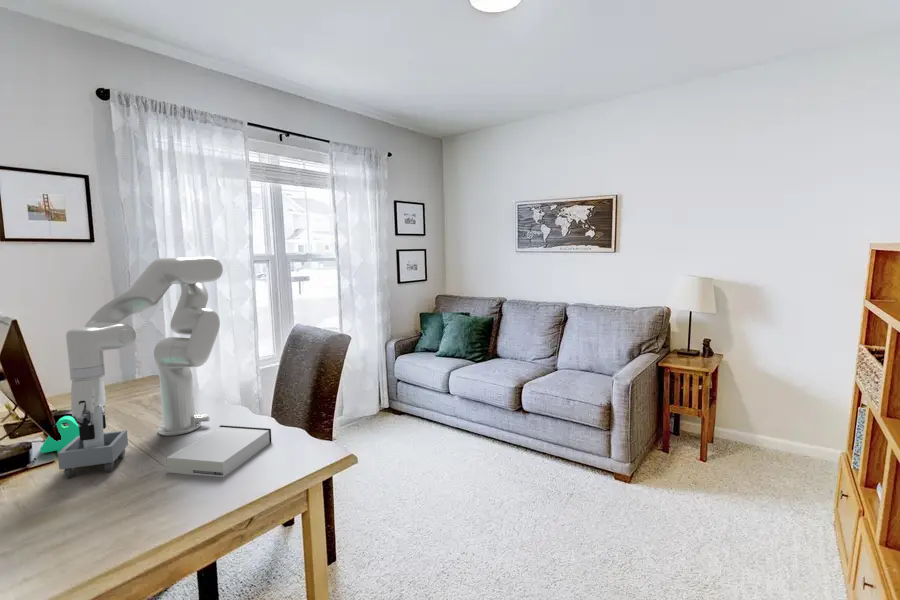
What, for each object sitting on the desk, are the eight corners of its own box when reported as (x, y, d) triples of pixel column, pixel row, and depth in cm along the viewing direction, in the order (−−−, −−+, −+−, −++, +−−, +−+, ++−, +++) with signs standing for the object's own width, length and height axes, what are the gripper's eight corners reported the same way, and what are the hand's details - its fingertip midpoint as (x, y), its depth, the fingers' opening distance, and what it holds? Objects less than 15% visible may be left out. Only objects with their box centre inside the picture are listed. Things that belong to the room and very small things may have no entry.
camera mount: (95, 438, 147) (92, 408, 146) (92, 447, 140) (89, 415, 139) (46, 447, 140) (43, 415, 139) (41, 456, 134) (37, 423, 133)
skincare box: (82, 445, 127) (78, 404, 126) (102, 441, 130) (98, 400, 129) (85, 452, 122) (81, 409, 121) (106, 447, 126) (102, 405, 124)
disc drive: (271, 443, 142) (271, 428, 142) (224, 478, 120) (223, 461, 120) (222, 440, 145) (221, 425, 145) (167, 474, 123) (165, 456, 123)
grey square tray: (129, 454, 134) (126, 430, 134) (114, 472, 123) (111, 446, 122) (80, 460, 130) (77, 435, 130) (60, 480, 119) (57, 453, 118)
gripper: (84, 366, 131) (90, 424, 133) (55, 381, 115) (62, 448, 116) (115, 363, 133) (120, 421, 135) (90, 378, 117) (97, 444, 119)
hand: (93, 433), depth 126 cm, fingers closed on skincare box, 7 cm apart
